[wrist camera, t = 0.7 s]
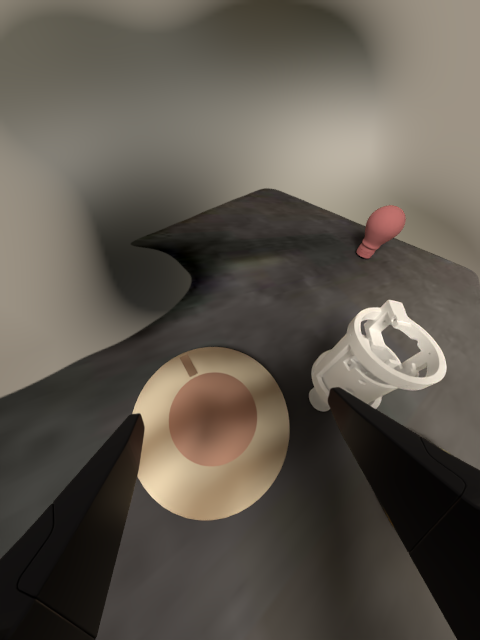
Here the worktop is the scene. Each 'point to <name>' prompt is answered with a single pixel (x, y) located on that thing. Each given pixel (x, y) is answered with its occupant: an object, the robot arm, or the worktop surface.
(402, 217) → the light bulb
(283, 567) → the worktop surface
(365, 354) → the strainer
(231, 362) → the turntable
